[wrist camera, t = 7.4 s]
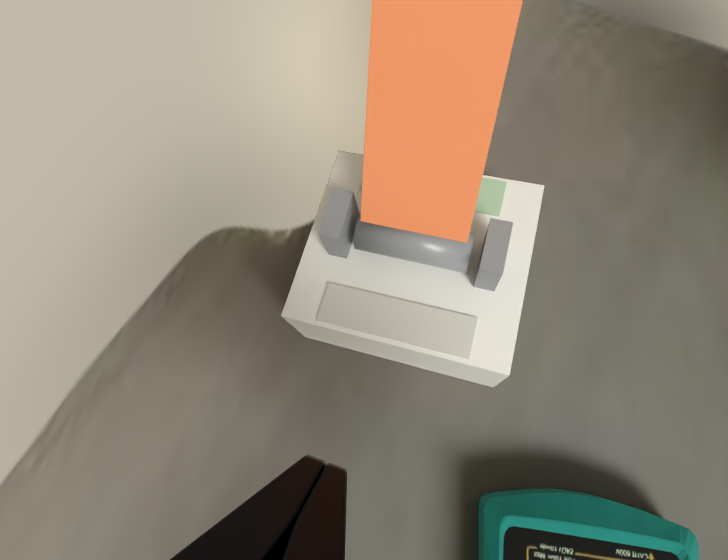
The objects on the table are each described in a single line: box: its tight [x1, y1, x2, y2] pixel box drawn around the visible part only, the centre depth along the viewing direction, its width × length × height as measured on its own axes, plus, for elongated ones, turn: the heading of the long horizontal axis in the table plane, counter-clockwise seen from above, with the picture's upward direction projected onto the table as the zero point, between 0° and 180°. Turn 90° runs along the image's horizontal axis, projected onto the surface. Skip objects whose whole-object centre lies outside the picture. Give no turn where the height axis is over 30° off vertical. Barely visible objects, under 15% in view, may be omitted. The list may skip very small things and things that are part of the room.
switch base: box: [281, 151, 544, 387], centre depth 19 cm, size 8×9×6 cm
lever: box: [354, 0, 523, 273], centre depth 14 cm, size 2×4×11 cm
